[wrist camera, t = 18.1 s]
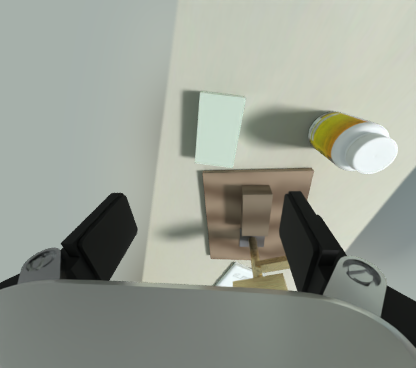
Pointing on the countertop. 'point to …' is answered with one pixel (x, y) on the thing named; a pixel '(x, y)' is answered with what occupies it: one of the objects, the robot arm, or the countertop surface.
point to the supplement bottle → (352, 142)
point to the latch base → (230, 208)
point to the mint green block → (218, 128)
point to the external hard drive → (236, 275)
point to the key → (264, 266)
